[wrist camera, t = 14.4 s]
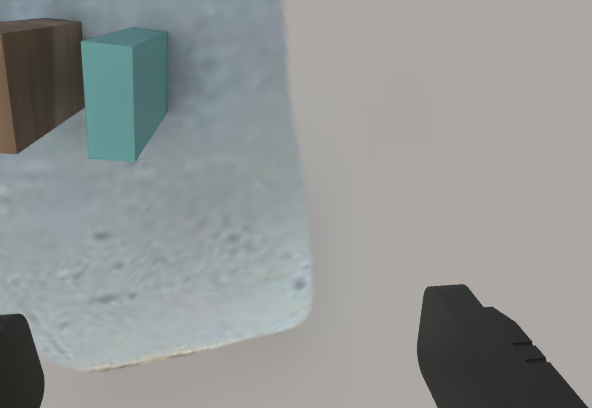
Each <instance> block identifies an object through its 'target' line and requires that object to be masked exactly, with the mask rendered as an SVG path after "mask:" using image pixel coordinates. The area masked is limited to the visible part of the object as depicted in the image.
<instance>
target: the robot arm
mask: <svg viewBox="0 0 592 408" xmlns="http://www.w3.org/2000/svg"><path fill="white" fill-rule="evenodd" d="M417 355H418V362H419V367H420V370H421V373H422V375H423V378H424V380H425V382H426V384H427V386H428V388H429V390H430V392H431V394H432V397H433V398H434V401H435V403H436V405H437V407H438V408H588V407H587V406H586V404H584V402H583V401H582V400H581V399H580V397H579V396H578V395H577V394H576V393H575V391H574V390H573V389H572V388H571V387H570V386H569V384H568V383H567V382H566V381H565V380H564V379H563V377H562V376H561V375H560V374H559V373H558V371H557V370H556V369H555V368H554V367H553V366H552V364H551V363H550V362H547V361H546V357H545V356H544V355H543V354H542V353H541V351H540V350H539V349H538V348H537V347H536V346H533V344H532V341H531V340H530V339H529V337H528V336H527V335H526V334H525V333H524V331H523V330H522V329H521V328H520V327H519V325H517V323H516V322H515V321H513V320H511V319H510V318H509V317H507V316H506V315H504V314H503V313H501V312H499V311H498V310H497V309H495V308H493V307H483V306H482V305H481V303H480V302H479V301H478V300H477V298H476V297H475V296H474V294H473V293H472V292H471V291H470V290H469V288H468V287H467V286H466V285H463V284H459V285H446V286H433V287H432V286H431V287H427V288H426V290H425V292H424V296H423V304H422V311H421V318H420V326H419V334H418V342H417ZM43 394H44V374H43V370H42V367H41V364H40V360H39V357H38V354H37V351H36V347H35V344H34V341H33V338H32V334H31V331H30V328H29V325H28V322H27V320H26V318H25V317H24V316H23V315H22V314H7V315H0V408H40V405H41V402H42V399H43Z"/></svg>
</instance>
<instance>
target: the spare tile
mask: <svg viewBox="0 0 592 408" xmlns="http://www.w3.org/2000/svg"><path fill="white" fill-rule="evenodd" d="M81 53H82V67H83V82H84V97H85V111H86V126H87V141H88V155H89V159H102V160H116V161H130V162H135V161H136V160H137V158H138V157H139V155H140V153H141V152H142V150H143V149H144V147H145V146H146V144H147V143H148V141H149V139H150V138H151V136H152V135H153V133H154V132H155V130H156V129H157V127H158V126H159V124H160V122H161V121H162V119H163V118H164V116H165V115H166V113H167V31H161V30H152V29H143V28H134V27H133V28H129V29H125V30H121V31H118V32H114V33H110V34H106V35H102V36H98V37H95V38H91V39H87V40H83V41H81Z"/></svg>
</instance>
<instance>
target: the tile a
mask: <svg viewBox="0 0 592 408" xmlns="http://www.w3.org/2000/svg"><path fill="white" fill-rule="evenodd" d="M81 41H82V29H81V22H76V21H67V20H58V19H50V18H40V19H29V20H19V21H8V22H0V153H7V154H18V153H19V152H21V151H22V150H24V149H25V148H27V147H28V146H29V145H31V144H32V143H34V142H35V141H37V140H38V139H40V138H41V137H42V136H44V135H45V134H47V133H48V132H50V131H51V130H52V129H54V128H55V127H57V126H58V125H60V124H61V123H63V122H64V121H65V120H67V119H68V118H70V117H71V116H73V115H74V114H76V113H77V112H78V111H80V110H81V109H83V108H84V107H85V97H84V82H83V67H82V53H81Z"/></svg>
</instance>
